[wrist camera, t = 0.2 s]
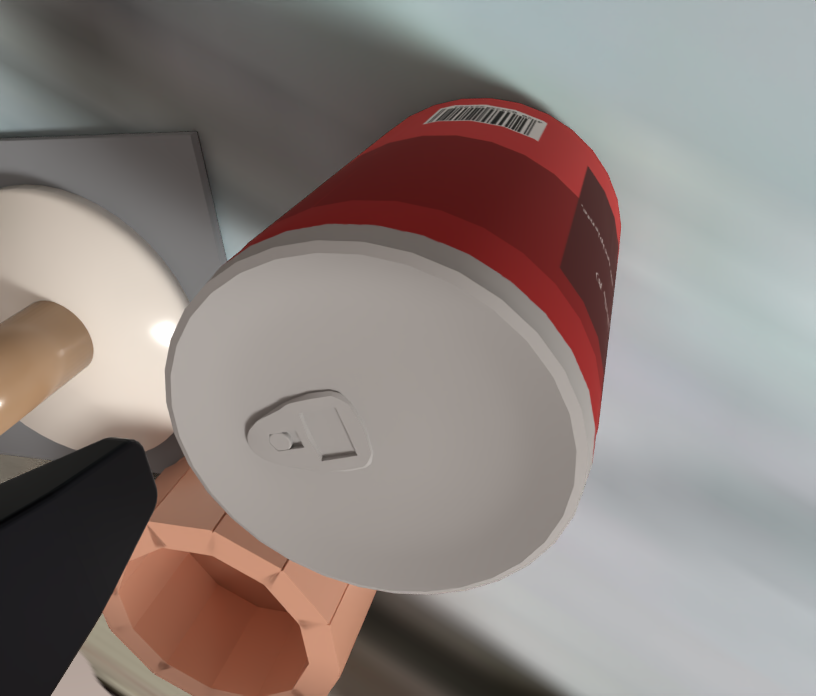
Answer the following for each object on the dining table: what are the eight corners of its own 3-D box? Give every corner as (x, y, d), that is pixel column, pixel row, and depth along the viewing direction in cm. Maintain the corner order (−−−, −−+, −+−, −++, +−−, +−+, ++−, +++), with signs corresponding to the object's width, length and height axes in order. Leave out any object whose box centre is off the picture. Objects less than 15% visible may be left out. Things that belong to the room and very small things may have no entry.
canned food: (311, 184, 23) (83, 362, 14) (530, 26, 19) (410, 133, 10) (448, 373, 25) (326, 636, 16) (672, 267, 21) (679, 537, 12)
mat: (278, 481, 30) (274, 487, 30) (4, 448, 34) (-3, 453, 34) (197, 131, 23) (190, 134, 23) (-133, 143, 27) (-143, 145, 27)
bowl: (393, 633, 33) (354, 738, 29) (196, 598, 36) (134, 688, 32) (364, 451, 28) (312, 545, 24) (139, 427, 31) (58, 508, 27)
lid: (232, 453, 29) (145, 563, 24) (12, 429, 33) (-105, 522, 28) (161, 182, 24) (32, 252, 19) (-94, 185, 27) (-261, 246, 22)
